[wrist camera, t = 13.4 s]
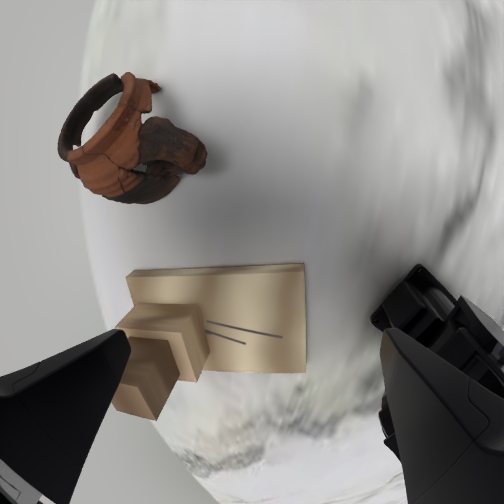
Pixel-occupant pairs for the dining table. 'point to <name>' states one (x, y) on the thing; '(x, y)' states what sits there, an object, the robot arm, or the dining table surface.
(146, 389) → the block
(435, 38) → the dining table surface
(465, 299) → the robot arm
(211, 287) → the pine board
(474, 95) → the dining table surface
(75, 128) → the pottery mug
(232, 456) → the dining table surface
